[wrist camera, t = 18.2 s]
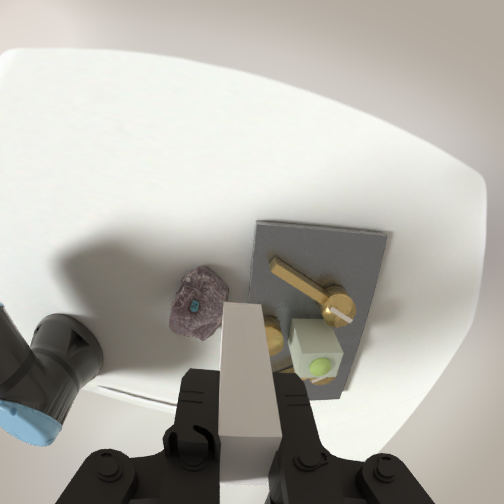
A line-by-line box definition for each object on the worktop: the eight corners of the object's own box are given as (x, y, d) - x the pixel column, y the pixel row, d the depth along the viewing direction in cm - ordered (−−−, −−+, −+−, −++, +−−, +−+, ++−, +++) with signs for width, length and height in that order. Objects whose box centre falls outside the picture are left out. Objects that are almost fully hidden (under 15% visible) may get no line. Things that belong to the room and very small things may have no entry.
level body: (287, 341, 51) (297, 380, 42) (292, 318, 49) (302, 356, 40) (322, 341, 51) (336, 379, 42) (327, 319, 49) (344, 355, 40)
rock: (236, 273, 48) (236, 287, 44) (217, 332, 52) (215, 348, 48) (185, 258, 47) (180, 271, 43) (170, 319, 51) (165, 334, 46)
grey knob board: (239, 393, 57) (239, 415, 51) (255, 220, 45) (258, 232, 40) (337, 392, 58) (344, 412, 53) (381, 232, 47) (398, 244, 41)
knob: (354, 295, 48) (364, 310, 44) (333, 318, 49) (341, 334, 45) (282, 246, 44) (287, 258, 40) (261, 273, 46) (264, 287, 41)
